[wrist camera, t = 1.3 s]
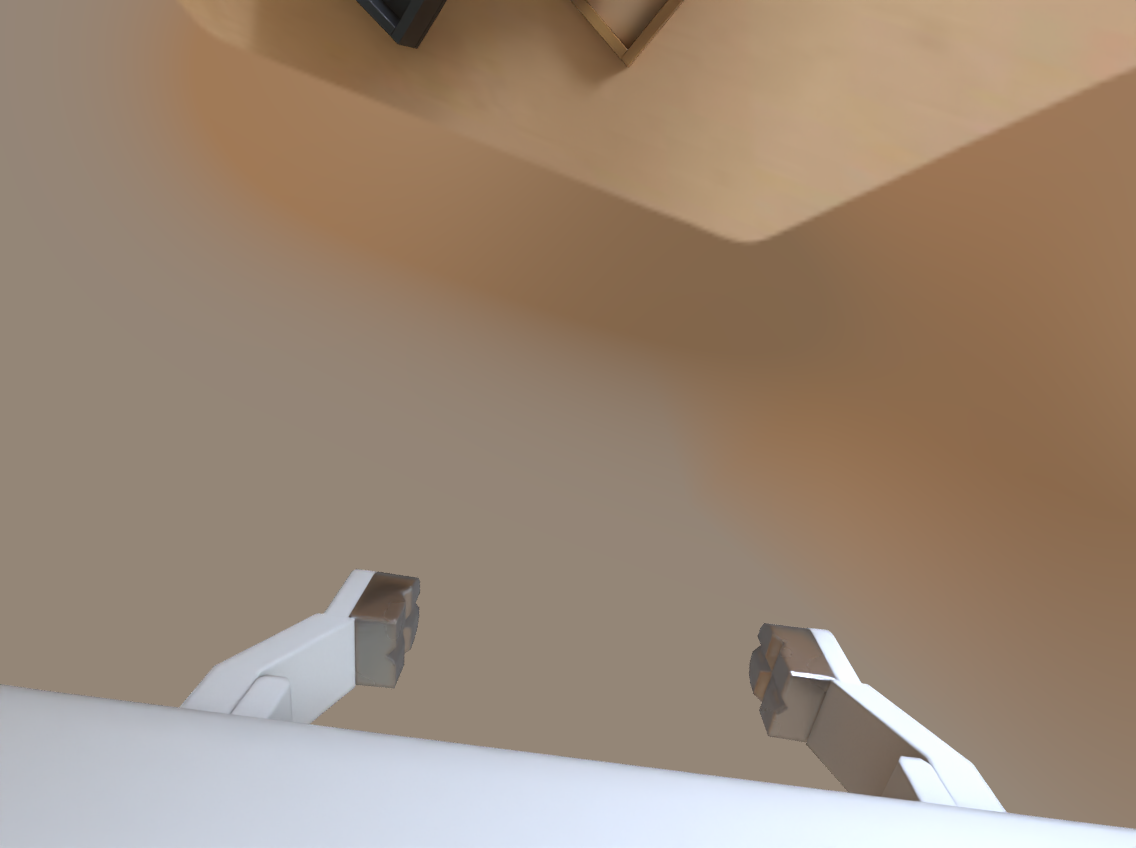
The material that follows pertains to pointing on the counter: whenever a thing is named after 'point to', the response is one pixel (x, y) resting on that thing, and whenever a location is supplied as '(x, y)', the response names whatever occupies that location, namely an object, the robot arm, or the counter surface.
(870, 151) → the counter surface
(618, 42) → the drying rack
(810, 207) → the counter surface
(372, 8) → the tray
